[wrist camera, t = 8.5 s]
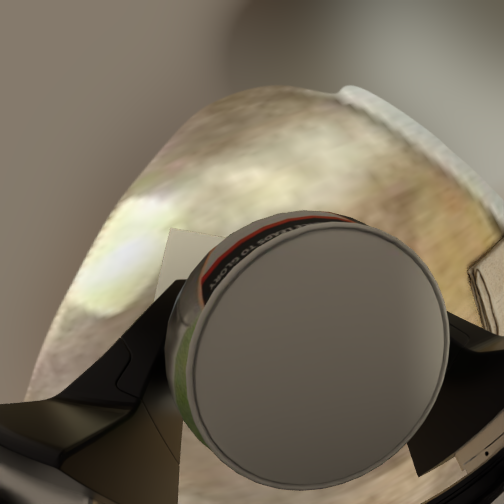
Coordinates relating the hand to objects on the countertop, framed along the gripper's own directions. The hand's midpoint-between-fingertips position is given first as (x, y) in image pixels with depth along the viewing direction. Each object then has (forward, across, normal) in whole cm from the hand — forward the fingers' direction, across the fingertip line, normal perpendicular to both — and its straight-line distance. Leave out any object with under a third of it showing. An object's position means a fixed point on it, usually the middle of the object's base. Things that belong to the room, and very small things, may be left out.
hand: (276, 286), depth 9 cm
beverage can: (+4, 0, +6) cm, 7 cm away
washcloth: (+9, -36, +10) cm, 39 cm away
